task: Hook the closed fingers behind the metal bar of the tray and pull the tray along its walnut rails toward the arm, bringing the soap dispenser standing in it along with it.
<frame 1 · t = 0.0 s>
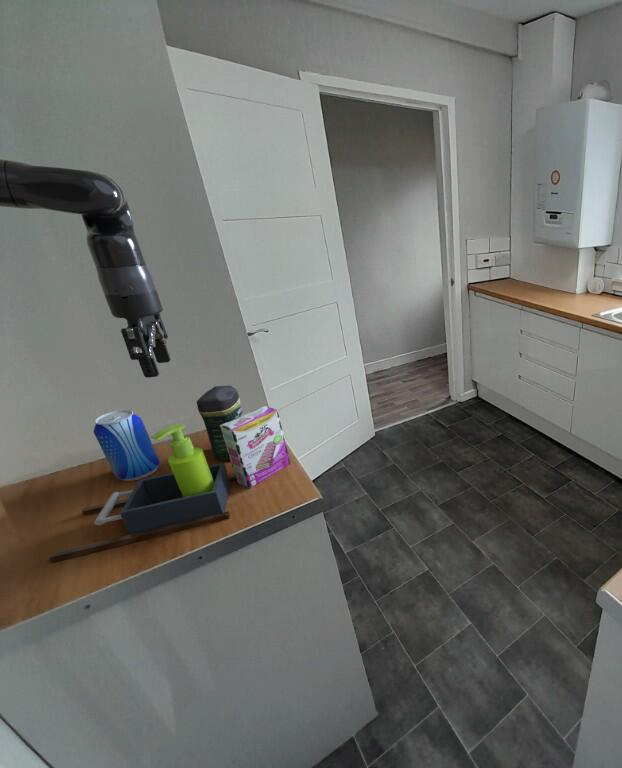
hand: (158, 369, 84), 30 cm above the counter, tool pointing down, fingers open, 8 cm apart
beer can: (140, 473, 101), on the counter
tray: (167, 500, 87), point 3 cm above the counter, slide at 0.0 cm
coffee jar: (236, 453, 109), on the counter
rails: (157, 515, 87), on the counter
soap dispenser: (202, 505, 90), resting in tray
candy bar box: (266, 475, 101), on the counter
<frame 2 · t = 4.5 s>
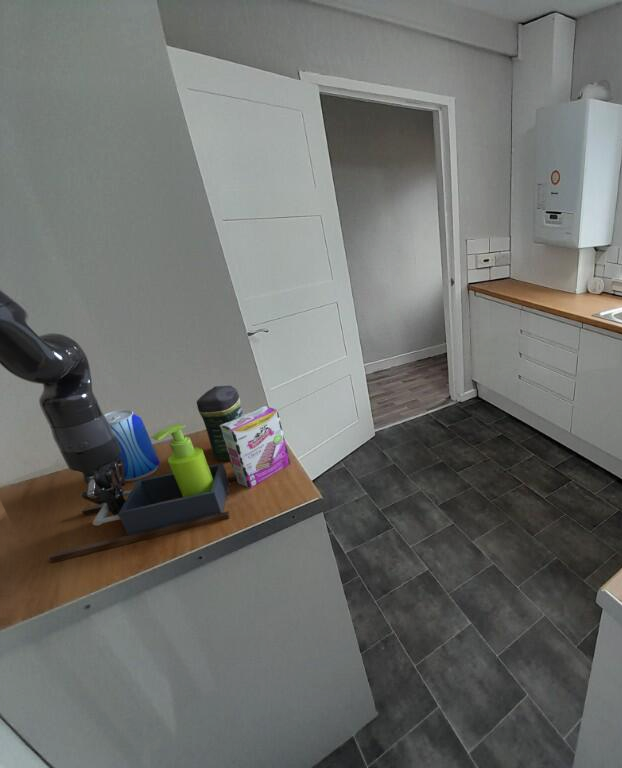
hand: (120, 511, 84), 3 cm above the counter, tool pointing down, fingers closed
tray: (166, 500, 87), point 3 cm above the counter, slide at 0.3 cm, touching gripper
everything else where it was.
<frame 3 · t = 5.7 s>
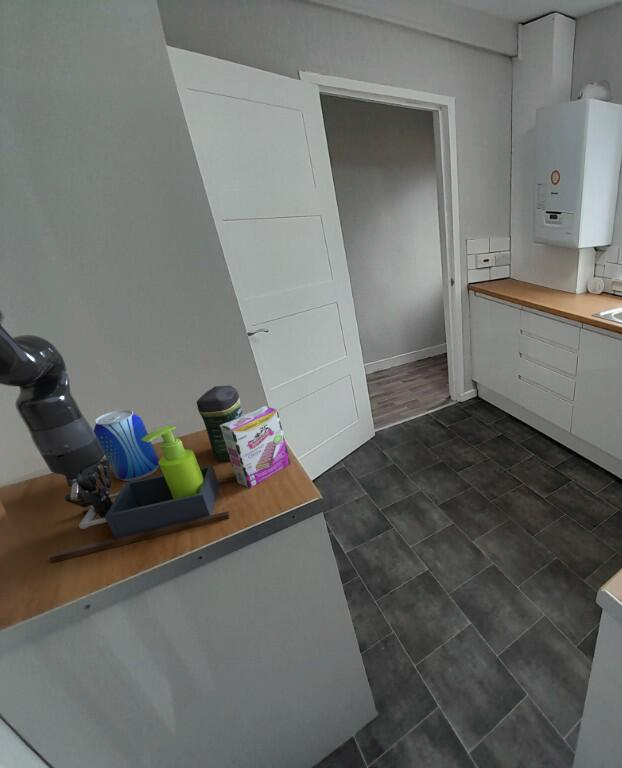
hand: (108, 513, 83), 3 cm above the counter, tool pointing down, fingers closed
tray: (154, 502, 86), point 3 cm above the counter, slide at 2.3 cm, touching gripper, soap dispenser
soap dispenser: (193, 508, 90), resting in tray
everything else where it was.
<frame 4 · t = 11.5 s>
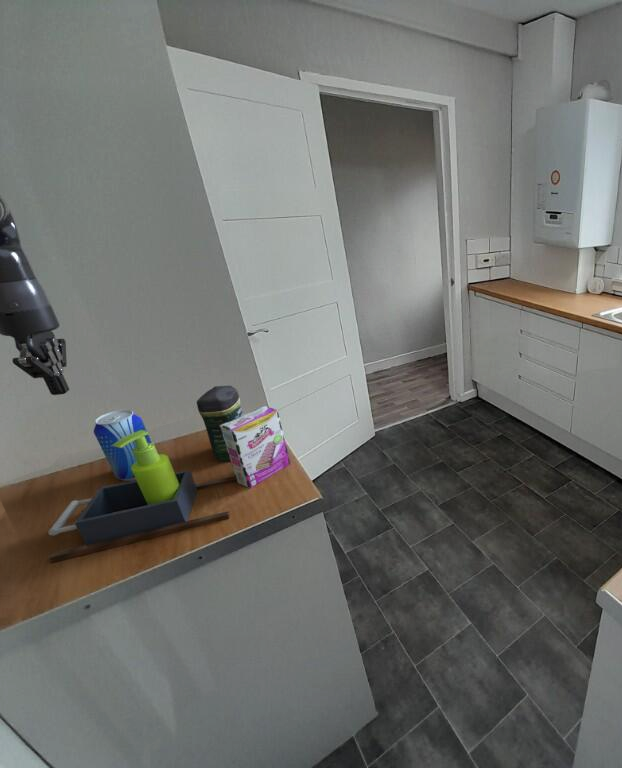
hand: (61, 393, 80), 27 cm above the counter, tool pointing down, fingers closed
tray: (128, 508, 84), point 3 cm above the counter, slide at 6.6 cm
soap dispenser: (169, 514, 88), resting in tray
everything else where it was.
at the end: tray slide at 6.6 cm; soap dispenser inside the target area (4.1 cm from its centre), resting in tray; soap dispenser tilted 0° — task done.
